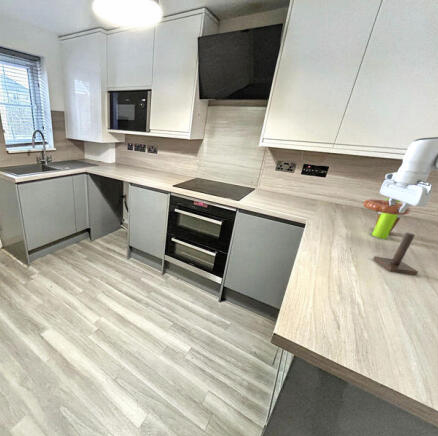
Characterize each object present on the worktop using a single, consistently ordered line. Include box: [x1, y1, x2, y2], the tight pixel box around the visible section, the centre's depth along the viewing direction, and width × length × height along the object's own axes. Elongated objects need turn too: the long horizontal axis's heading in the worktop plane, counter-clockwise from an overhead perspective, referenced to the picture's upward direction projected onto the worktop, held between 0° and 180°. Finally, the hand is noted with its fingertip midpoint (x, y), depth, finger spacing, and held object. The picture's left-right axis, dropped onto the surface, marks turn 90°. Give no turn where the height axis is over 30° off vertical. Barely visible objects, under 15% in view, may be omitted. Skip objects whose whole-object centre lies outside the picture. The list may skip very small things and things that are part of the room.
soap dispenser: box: [371, 198, 401, 240], centre depth 119 cm, size 6×7×20 cm
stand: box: [372, 232, 419, 276], centre depth 91 cm, size 9×9×14 cm
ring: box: [362, 198, 411, 216], centre depth 106 cm, size 15×15×4 cm
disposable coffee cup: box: [374, 212, 404, 235], centre depth 127 cm, size 10×10×12 cm
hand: (395, 210), depth 101 cm, fingers closed on ring, 3 cm apart
